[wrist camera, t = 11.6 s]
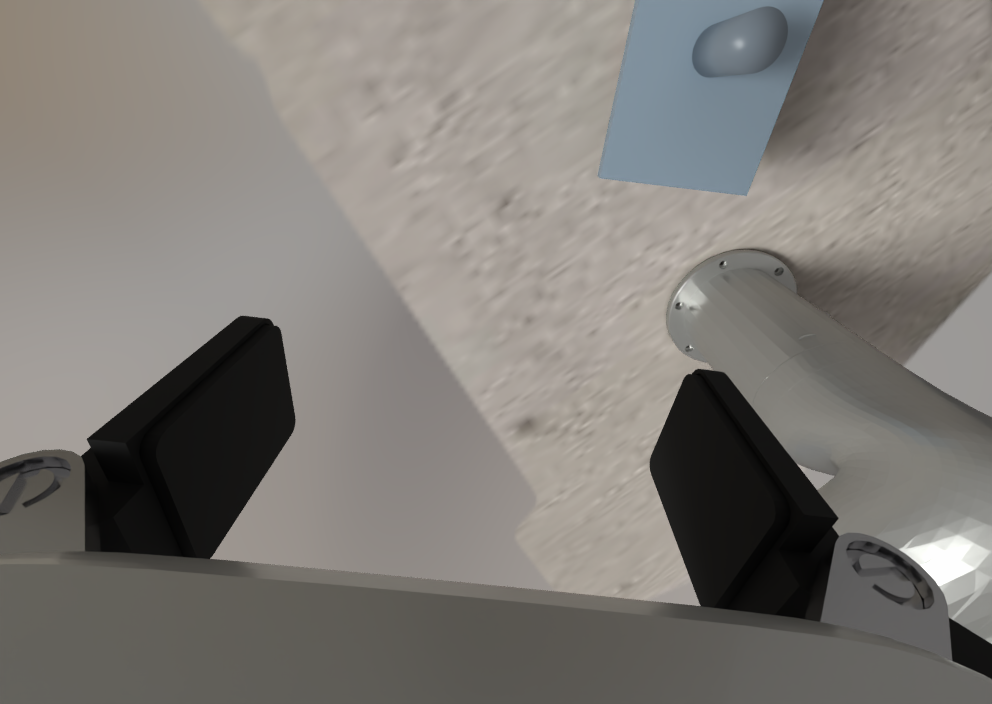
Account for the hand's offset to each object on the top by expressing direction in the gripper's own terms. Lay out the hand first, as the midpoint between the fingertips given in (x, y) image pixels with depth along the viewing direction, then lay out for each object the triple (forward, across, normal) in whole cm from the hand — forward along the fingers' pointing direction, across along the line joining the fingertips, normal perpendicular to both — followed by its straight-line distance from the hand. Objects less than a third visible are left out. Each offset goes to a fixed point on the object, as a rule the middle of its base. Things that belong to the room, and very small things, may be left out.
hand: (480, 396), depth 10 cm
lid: (+23, -11, -10) cm, 28 cm away
